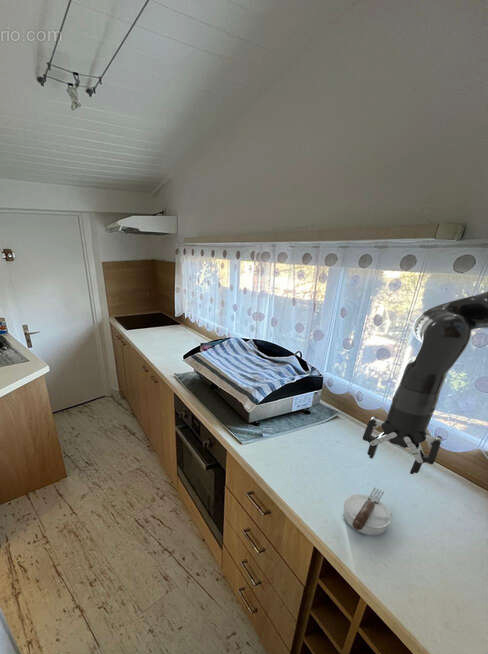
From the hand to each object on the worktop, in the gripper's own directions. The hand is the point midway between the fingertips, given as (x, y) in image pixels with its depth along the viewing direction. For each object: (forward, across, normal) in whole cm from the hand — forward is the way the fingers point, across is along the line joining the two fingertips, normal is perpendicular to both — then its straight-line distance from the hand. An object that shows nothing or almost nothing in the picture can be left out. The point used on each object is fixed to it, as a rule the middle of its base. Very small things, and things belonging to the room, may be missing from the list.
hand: (391, 464), depth 73 cm
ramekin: (+21, +1, +1) cm, 21 cm away
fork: (+15, +1, +1) cm, 15 cm away
